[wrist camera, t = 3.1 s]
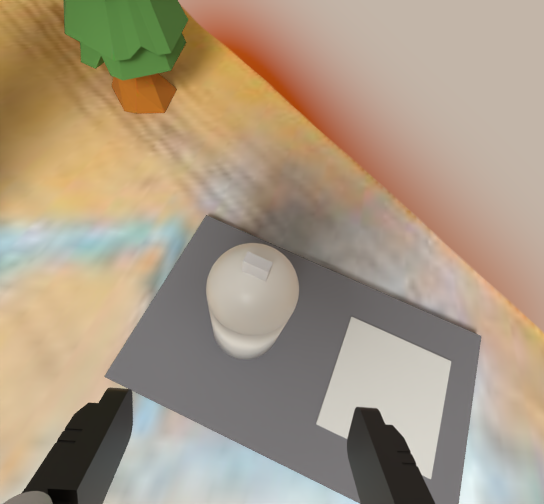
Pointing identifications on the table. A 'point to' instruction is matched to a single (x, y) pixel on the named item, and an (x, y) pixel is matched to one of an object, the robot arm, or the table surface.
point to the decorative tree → (130, 46)
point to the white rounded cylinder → (250, 298)
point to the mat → (308, 370)
